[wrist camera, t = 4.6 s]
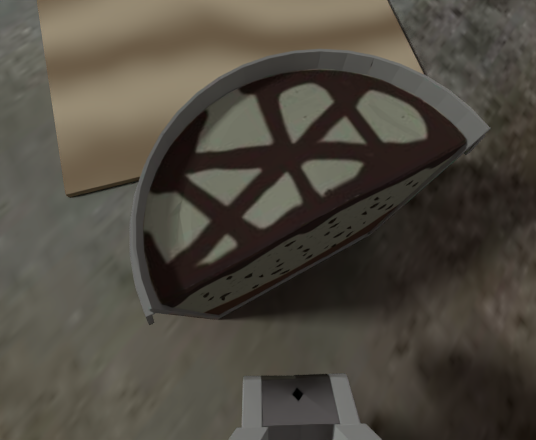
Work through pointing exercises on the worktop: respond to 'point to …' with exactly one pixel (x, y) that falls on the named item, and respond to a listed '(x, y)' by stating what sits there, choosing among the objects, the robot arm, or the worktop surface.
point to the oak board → (176, 65)
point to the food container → (284, 173)
